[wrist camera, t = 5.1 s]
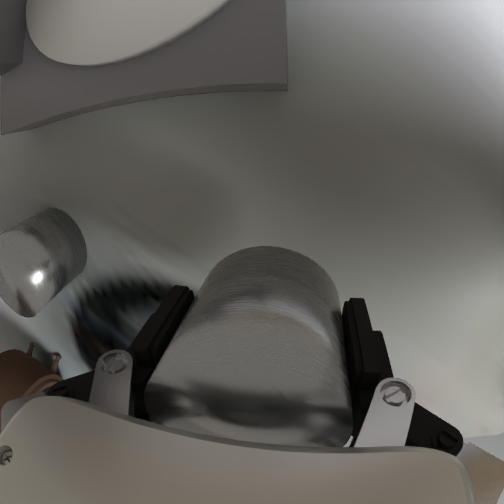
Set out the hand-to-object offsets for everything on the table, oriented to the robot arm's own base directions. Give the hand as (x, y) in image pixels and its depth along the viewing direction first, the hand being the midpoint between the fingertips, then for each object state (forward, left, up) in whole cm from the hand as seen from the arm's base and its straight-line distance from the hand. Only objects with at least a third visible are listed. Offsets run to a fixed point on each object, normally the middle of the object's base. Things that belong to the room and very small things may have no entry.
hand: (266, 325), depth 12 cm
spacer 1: (+17, 0, -7) cm, 18 cm away
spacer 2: (0, 0, -1) cm, 1 cm away
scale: (+9, -19, -7) cm, 22 cm away
